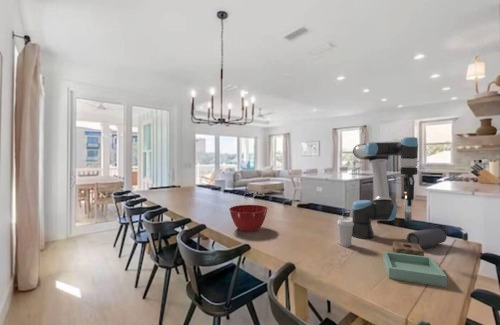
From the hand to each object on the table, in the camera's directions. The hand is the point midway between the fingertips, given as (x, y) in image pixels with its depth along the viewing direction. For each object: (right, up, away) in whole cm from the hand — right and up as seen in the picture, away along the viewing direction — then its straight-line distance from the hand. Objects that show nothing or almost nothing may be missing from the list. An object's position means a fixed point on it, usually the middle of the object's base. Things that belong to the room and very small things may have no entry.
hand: (408, 211), depth 134 cm
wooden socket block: (0, -25, +1) cm, 25 cm away
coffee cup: (-26, -24, +19) cm, 40 cm away
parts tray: (-9, -25, -16) cm, 31 cm away
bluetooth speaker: (+21, -24, +17) cm, 37 cm away
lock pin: (0, -5, 0) cm, 5 cm away
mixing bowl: (-85, -23, +53) cm, 102 cm away
